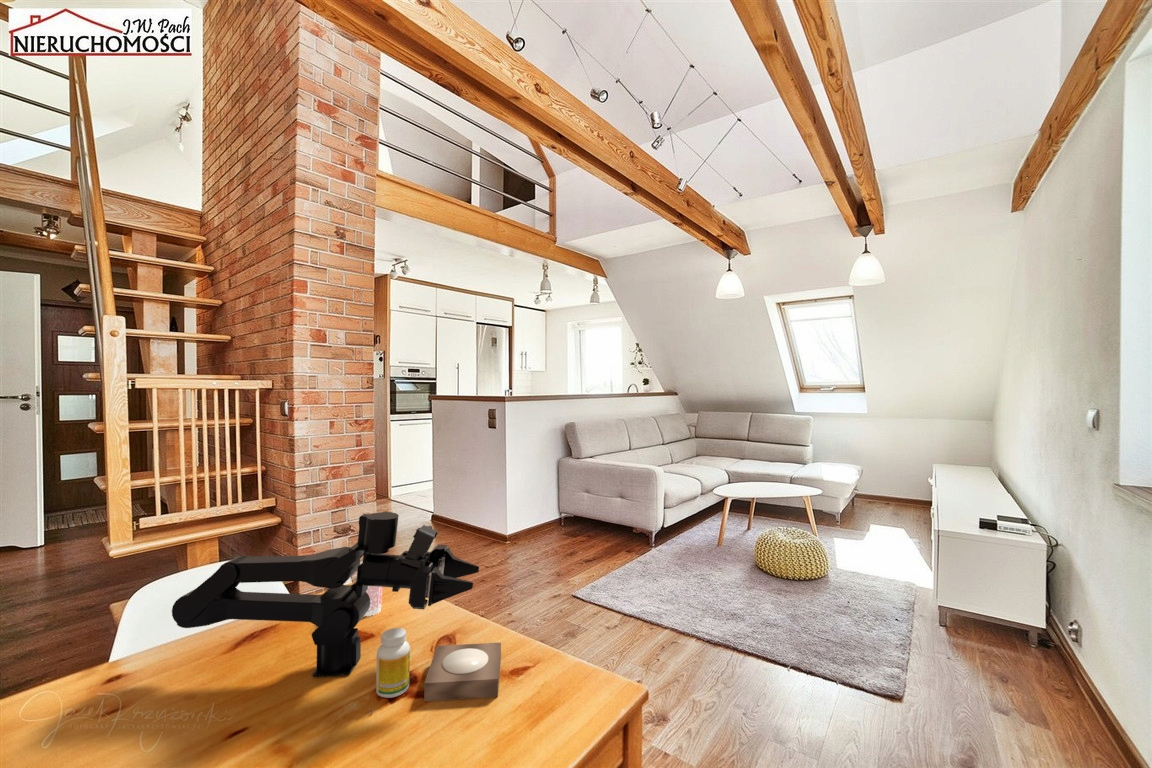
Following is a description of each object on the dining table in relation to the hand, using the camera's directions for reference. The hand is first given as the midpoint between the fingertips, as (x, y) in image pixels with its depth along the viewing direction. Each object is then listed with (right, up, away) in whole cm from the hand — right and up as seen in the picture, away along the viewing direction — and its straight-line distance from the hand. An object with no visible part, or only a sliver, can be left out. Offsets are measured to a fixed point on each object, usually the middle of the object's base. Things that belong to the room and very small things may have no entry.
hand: (476, 577), depth 93 cm
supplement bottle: (-12, -16, -9) cm, 22 cm away
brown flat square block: (-1, -16, -5) cm, 17 cm away
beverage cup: (-29, -16, +21) cm, 39 cm away
